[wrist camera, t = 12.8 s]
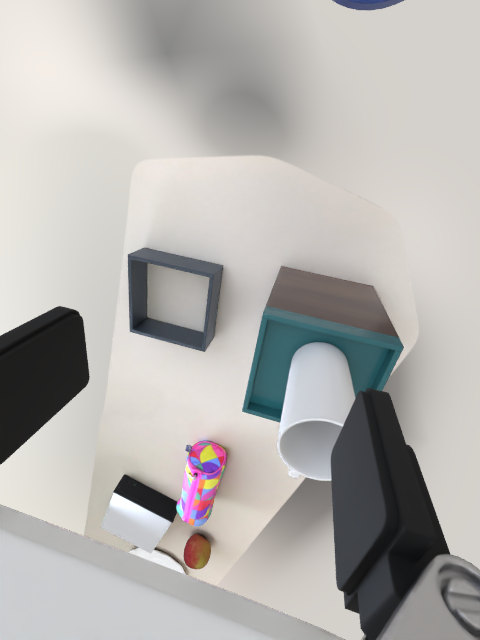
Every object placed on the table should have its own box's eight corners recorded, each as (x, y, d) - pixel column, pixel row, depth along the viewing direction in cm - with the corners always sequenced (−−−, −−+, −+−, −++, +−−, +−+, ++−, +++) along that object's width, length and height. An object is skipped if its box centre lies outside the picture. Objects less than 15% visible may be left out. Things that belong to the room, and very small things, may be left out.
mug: (304, 329, 32) (298, 404, 22) (362, 354, 32) (384, 442, 21) (269, 393, 37) (251, 480, 27) (319, 415, 37) (321, 511, 26)
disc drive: (180, 503, 82) (173, 521, 77) (158, 537, 93) (151, 555, 88) (124, 474, 82) (113, 490, 77) (109, 511, 93) (99, 528, 88)
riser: (281, 266, 46) (265, 305, 32) (373, 286, 45) (399, 337, 31) (263, 341, 53) (245, 401, 39) (343, 361, 51) (353, 432, 37)
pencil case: (192, 430, 68) (176, 464, 60) (231, 443, 67) (220, 479, 59) (184, 487, 78) (169, 522, 70) (218, 499, 77) (206, 536, 69)
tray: (265, 305, 32) (263, 312, 31) (399, 337, 31) (404, 347, 29) (245, 401, 39) (241, 411, 37) (353, 432, 37) (355, 444, 36)
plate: (182, 587, 104) (180, 592, 103) (128, 563, 106) (125, 568, 104) (193, 561, 94) (191, 567, 93) (134, 535, 96) (131, 540, 94)
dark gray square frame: (144, 247, 50) (127, 254, 46) (223, 265, 49) (214, 274, 44) (144, 319, 57) (129, 331, 53) (213, 337, 55) (204, 351, 51)
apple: (185, 534, 88) (173, 565, 81) (198, 524, 84) (187, 556, 77) (205, 547, 89) (196, 579, 82) (219, 538, 85) (211, 571, 78)
